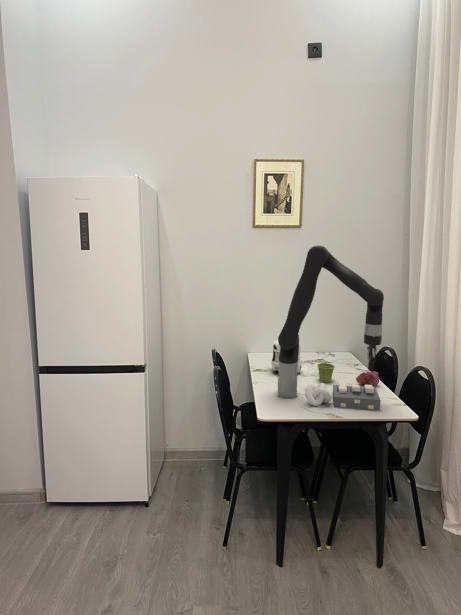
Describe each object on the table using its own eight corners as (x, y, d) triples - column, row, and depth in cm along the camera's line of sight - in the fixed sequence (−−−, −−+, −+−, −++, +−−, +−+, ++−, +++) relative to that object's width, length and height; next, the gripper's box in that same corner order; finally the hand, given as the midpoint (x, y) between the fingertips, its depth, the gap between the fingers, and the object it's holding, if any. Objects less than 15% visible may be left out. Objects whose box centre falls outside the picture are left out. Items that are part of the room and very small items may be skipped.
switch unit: (334, 407, 184) (334, 391, 183) (332, 394, 200) (333, 380, 198) (380, 410, 180) (380, 395, 179) (374, 397, 196) (375, 382, 194)
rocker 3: (366, 392, 185) (366, 389, 184) (364, 387, 191) (364, 384, 191) (373, 393, 184) (374, 389, 184) (371, 388, 191) (372, 384, 190)
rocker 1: (339, 392, 188) (339, 390, 187) (338, 383, 194) (338, 380, 193) (346, 393, 187) (346, 390, 186) (345, 383, 193) (346, 381, 192)
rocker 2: (352, 391, 186) (352, 387, 186) (351, 387, 193) (351, 384, 192) (360, 391, 185) (360, 387, 185) (358, 388, 192) (358, 384, 192)
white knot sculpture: (313, 410, 181) (314, 391, 180) (299, 400, 192) (299, 382, 190) (334, 406, 185) (334, 387, 184) (318, 397, 196) (319, 379, 195)
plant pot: (337, 380, 219) (338, 365, 217) (328, 385, 212) (329, 369, 211) (322, 376, 225) (322, 362, 224) (313, 381, 218) (313, 365, 217)
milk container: (300, 367, 241) (300, 338, 238) (302, 377, 224) (303, 346, 221) (271, 367, 243) (271, 338, 240) (271, 376, 226) (271, 345, 223)
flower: (357, 388, 216) (363, 371, 219) (375, 394, 210) (381, 376, 213) (352, 382, 207) (358, 364, 210) (371, 387, 202) (377, 369, 204)
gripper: (362, 329, 188) (360, 365, 191) (366, 336, 175) (363, 374, 178) (379, 330, 186) (377, 366, 189) (384, 337, 174) (381, 375, 177)
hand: (370, 370), depth 184 cm, fingers closed
